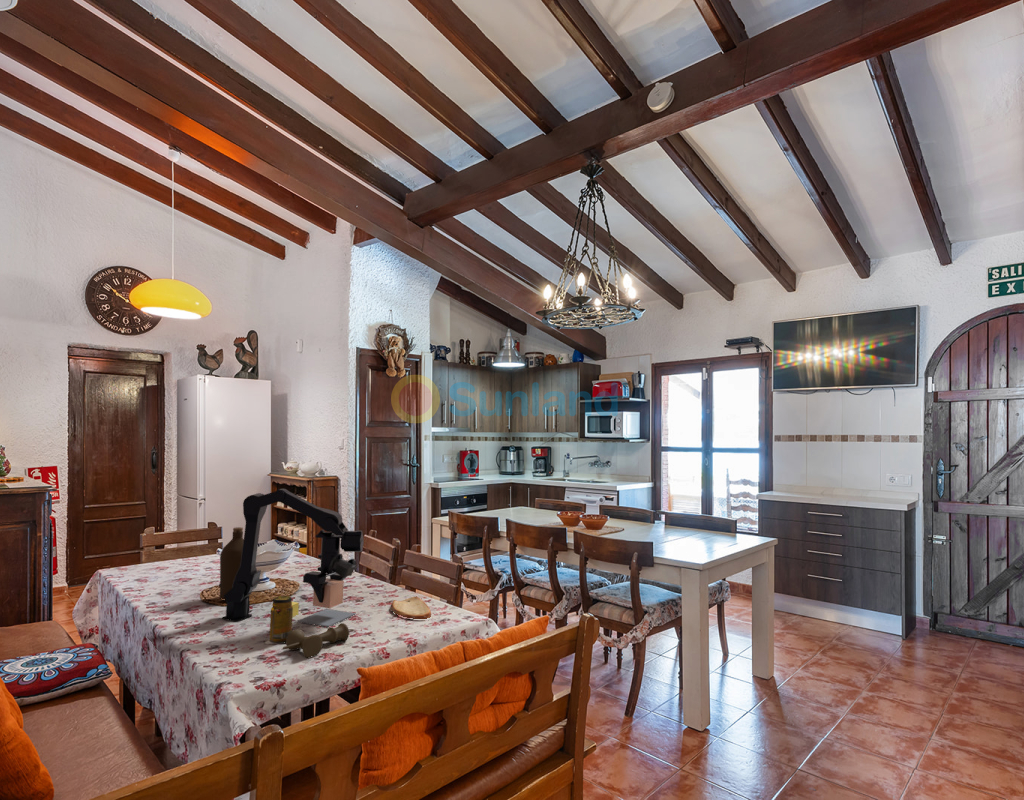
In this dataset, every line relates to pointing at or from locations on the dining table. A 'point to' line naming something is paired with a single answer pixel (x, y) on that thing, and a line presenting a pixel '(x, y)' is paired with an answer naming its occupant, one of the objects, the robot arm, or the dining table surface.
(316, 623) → the grey panel
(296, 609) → the yellow block
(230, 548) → the olive oil
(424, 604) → the slice of bread
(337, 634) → the kendama
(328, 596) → the salmon cube
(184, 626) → the dining table surface
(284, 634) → the condiment
